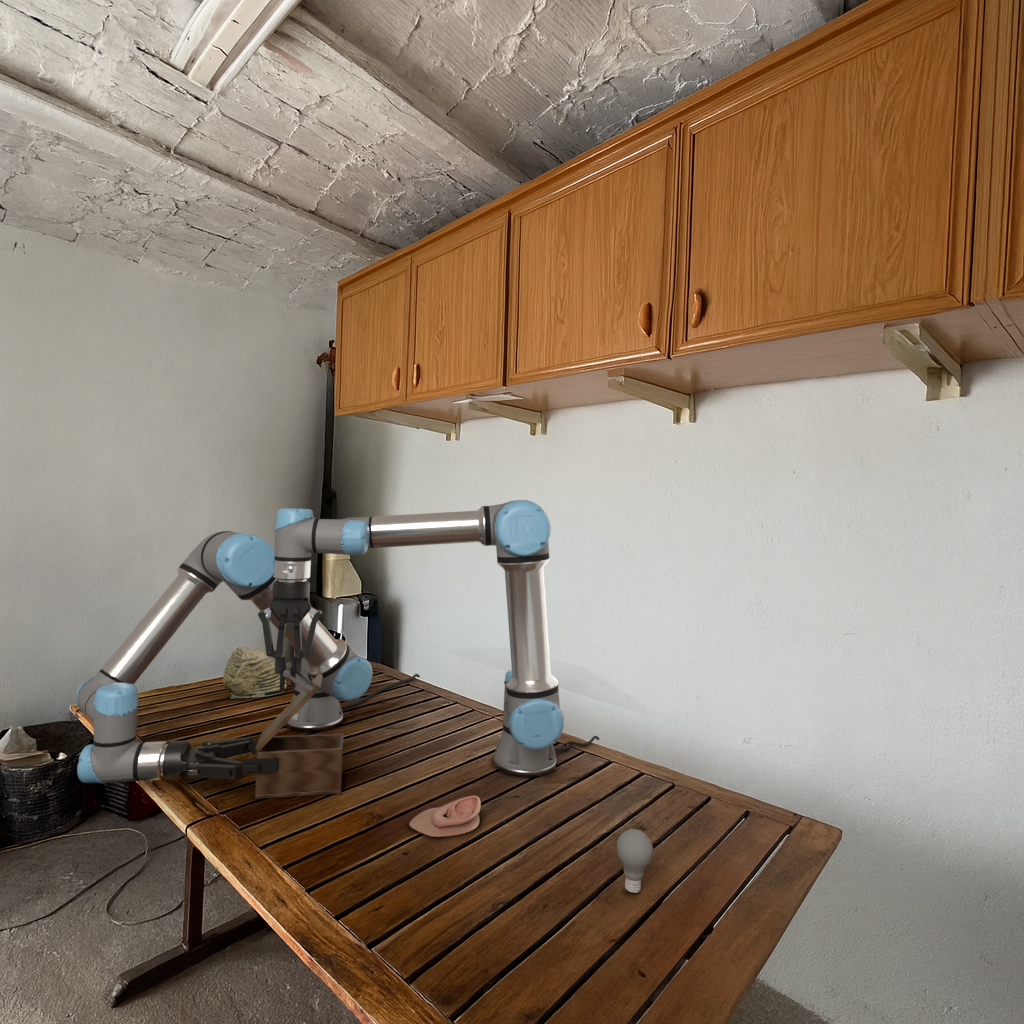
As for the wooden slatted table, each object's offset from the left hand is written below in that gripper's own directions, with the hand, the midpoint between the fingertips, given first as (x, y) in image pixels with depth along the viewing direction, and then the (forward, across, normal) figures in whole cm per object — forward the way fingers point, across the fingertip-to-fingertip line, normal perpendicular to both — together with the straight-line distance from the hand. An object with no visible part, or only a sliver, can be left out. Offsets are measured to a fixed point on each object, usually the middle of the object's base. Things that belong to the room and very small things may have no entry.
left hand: (280, 755), depth 137 cm
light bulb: (+62, +47, -7) cm, 78 cm away
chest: (+4, 0, -7) cm, 8 cm away
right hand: (+1, 0, +15) cm, 15 cm away
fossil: (-15, -66, -7) cm, 68 cm away
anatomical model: (+34, +20, -7) cm, 40 cm away
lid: (+2, 0, +9) cm, 10 cm away
